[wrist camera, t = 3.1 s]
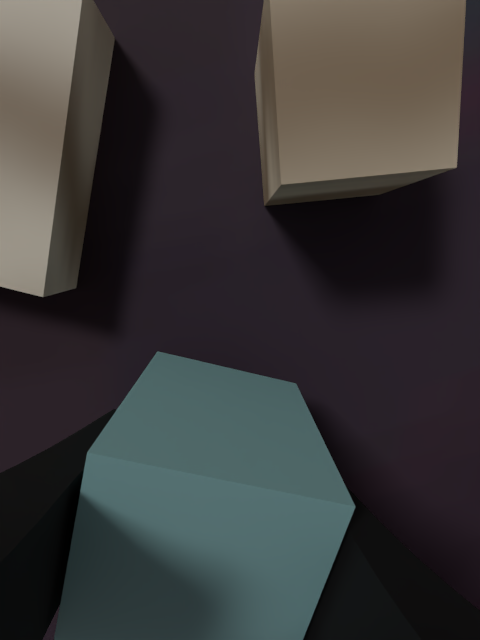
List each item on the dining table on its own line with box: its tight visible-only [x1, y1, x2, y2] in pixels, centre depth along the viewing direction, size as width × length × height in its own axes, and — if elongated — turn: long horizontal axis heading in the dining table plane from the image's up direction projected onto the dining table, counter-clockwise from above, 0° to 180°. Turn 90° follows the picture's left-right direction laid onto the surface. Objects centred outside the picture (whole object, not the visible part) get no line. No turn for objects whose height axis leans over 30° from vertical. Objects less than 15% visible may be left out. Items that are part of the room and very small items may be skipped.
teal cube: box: [54, 351, 356, 640], centre depth 8 cm, size 4×4×5 cm
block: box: [255, 0, 466, 206], centre depth 9 cm, size 4×4×4 cm
